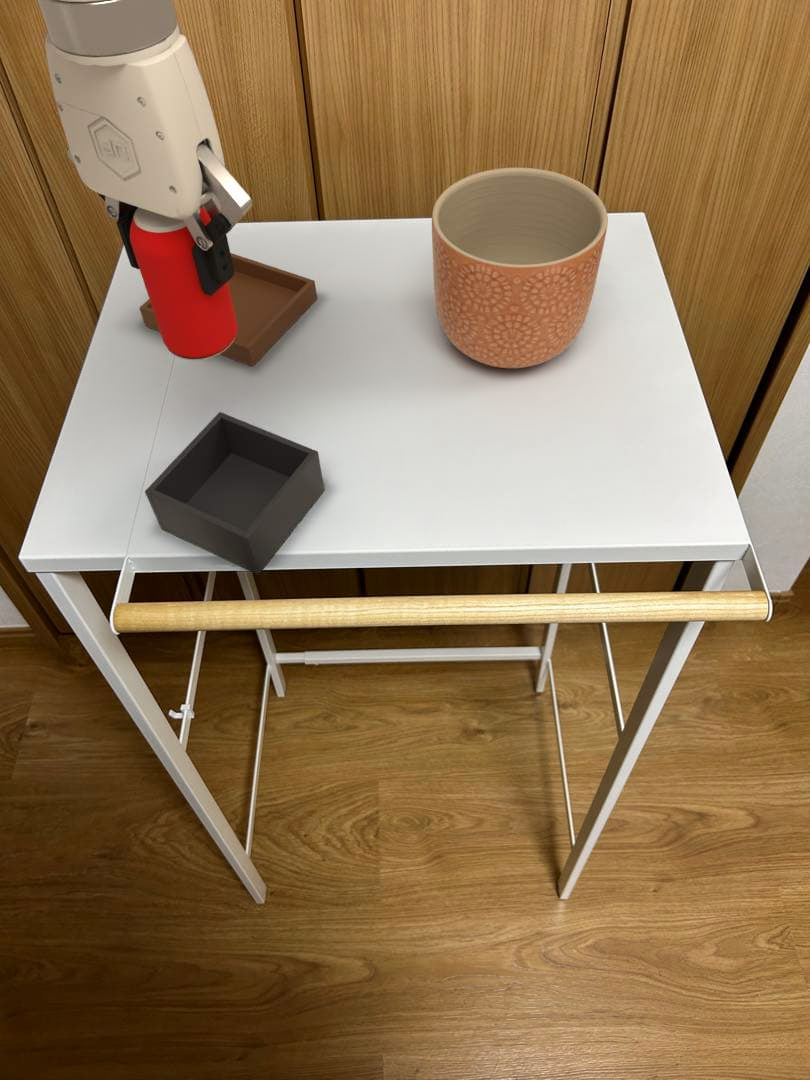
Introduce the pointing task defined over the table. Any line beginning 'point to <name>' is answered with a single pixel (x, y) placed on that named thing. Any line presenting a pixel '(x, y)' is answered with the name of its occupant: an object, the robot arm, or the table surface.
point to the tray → (258, 307)
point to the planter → (515, 263)
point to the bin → (237, 491)
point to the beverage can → (180, 288)
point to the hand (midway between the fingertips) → (182, 269)
